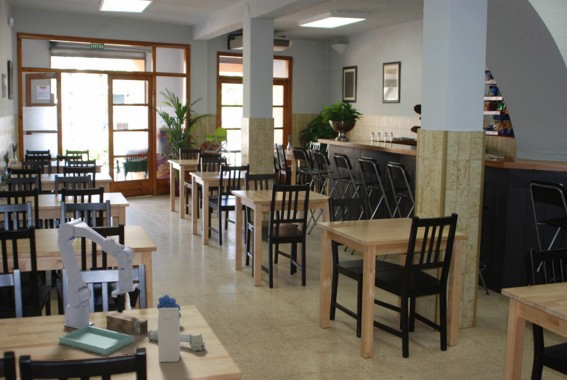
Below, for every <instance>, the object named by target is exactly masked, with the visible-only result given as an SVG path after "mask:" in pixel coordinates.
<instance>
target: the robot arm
mask: <svg viewBox="0 0 567 380" xmlns="http://www.w3.org/2000/svg"><path fill="white" fill-rule="evenodd" d="M57 234H58V237H57V242H56V244H57V248H58V250H59V254H60V257H61V261H62V265H63V268H64V271H65V275H66V278H67V282H68V286H67V288H66V294H67V296H66V300H67V305H66V306H65V309H64V311H65V312H64V316H65V317H64V318H65V323H64V324H63V325H64V326H65V327H70V328H73V329H76V330H78V329H80V328H83V327H85V326H88V325H89V326H93V325H94V324H95V322H94V321H90V304H89V303H90V299H91V298H92V294H93V293H92V290H91V289H90V288H89V285H88V283H87V282H86V281H85V280H84V279H83V277H82V274H81V271H80V267H79V263H78V260H77V257H76V253H75V250H74V247H73V243H74V242H75V240H76V238H81V237H84V238H86V239H88V240H89V241H92V242H93V243H95V244H98V245H99V246H100V247H101V251H103V252H104V253H106V254H108V255H110V256H111V257H112V258H114V260H115V261H116V263H117V273H118V276H117V277H118V278H117V279H118V288H117V289H115V290H113V291H112V292H111V300H112V301H113V303H114V305H115V307H116V311H117V312H116V313H119V314H123V312H124V303H125V302H124V301H125V300H126V299H125V298H126V297H125V296H123V295H124V294H126V293H128V296H129V297H128V298H129V306H130V308H133V309H134V308H136V306H137V302H138V298H139V296H140V294H141V291H142V290H140V288H141V284H140V283H138V282H137V283H134V270H133V259H134V258H135V255H136V254H135V250H134V249H133V248H132V247H131V246H125V245H124V244H121V243H119V242H117V241H116V239H115V238H114V237H104V236H102V235H101V234H100V233H98V231H96V230H94V229H92V228H91V226H89V225H88V224H87V223H86V222H84V221H82V220H81V219H78V218H77V219H73V220H71V221H68V222H64V223H62V224H61V225H60V226H59V228H58V229H57Z"/></svg>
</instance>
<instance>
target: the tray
mask: <svg viewBox="0 0 567 380" xmlns="http://www.w3.org/2000/svg"><path fill="white" fill-rule="evenodd" d="M58 341H59V342H58V343H59V344H60V345H65V346H69V347H73V348H76V349H79V350H85V351H89V352H92V353H95V354H99V355H103V356H107V355H109V354H111V353H113V352H116V351H119V350H120V349H122V348H125V347H126V346H128V345H131V344H133V343H134V341H135V340H134V335H129V334H127V333H122V332H118V331H113V330H110V329H104V328H100V327H97V326H93V325H90V326H89V325H88V326H85V327H83V328H80V329H76V330H73V331H71V332H68V333H66V334H63V335H60V336H59V337H58Z"/></svg>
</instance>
